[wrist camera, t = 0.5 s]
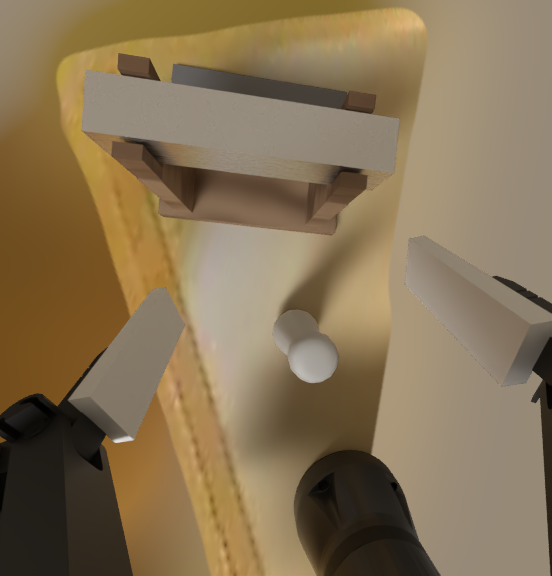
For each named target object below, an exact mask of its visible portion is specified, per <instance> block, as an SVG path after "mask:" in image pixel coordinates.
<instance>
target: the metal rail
mask: <svg viewBox="0 0 552 576" xmlns="http://www.w3.org/2000/svg"><path fill="white" fill-rule="evenodd" d="M399 122H400V119H399V118H393V117H386V116H380V115H373V114H367V113H360V112H354V111H348V110H341V109H335V108H328V107H322V106H316V105H309V104H303V103H296V102H290V101H283V100H277V99H271V98H264V97H258V96H251V95H245V94H239V93H232V92H226V91H219V90H213V89H206V88H200V87H194V86H187V85H181V84H174V83H168V82H162V81H155V80H149V79H142V78H136V77H129V76H123V75H117V74H110V73H104V72H97V71H91V70H86V71H85V86H84V101H83V115H82V130H81V131H82V132H84V133H85V134H86V135H87V136H88V137H90V138H91V139H92V140H93V141H94V142H95V143H97V144H98V145H99V146H100V147H101V148H103V149H104V150H105V151H106V152H107V153H108V154H110V155H111V153H112V141H117V142H124V143H132V144H139V145H143V146H144V147H145V148H146V149H147V150H148V152H149V153H150V154H151V155H152V156H153V157H154V159H155V160H156V161H157V162H158V163H162V164H170V165H178V166H186V167H194V168H201V169H209V170H217V171H225V172H232V173H240V174H248V175H256V176H264V177H271V178H279V179H287V180H295V181H302V182H310V183H318V184H326V185H331V184H332V183H333V182H334V180H335V179H336V178H337V177H338V175H339V174H340V173H341V172H348V173H356V174H363V175H368V177H367V187H366V189H365V190H373V189H374V188H375V187H377V186H378V185H379V184H381V183H382V182H383V181H385V180H386V179H387V178H388V177H390V176H391V175H392V174H394V169H395V160H396V150H397V141H398V131H399Z"/></svg>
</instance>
